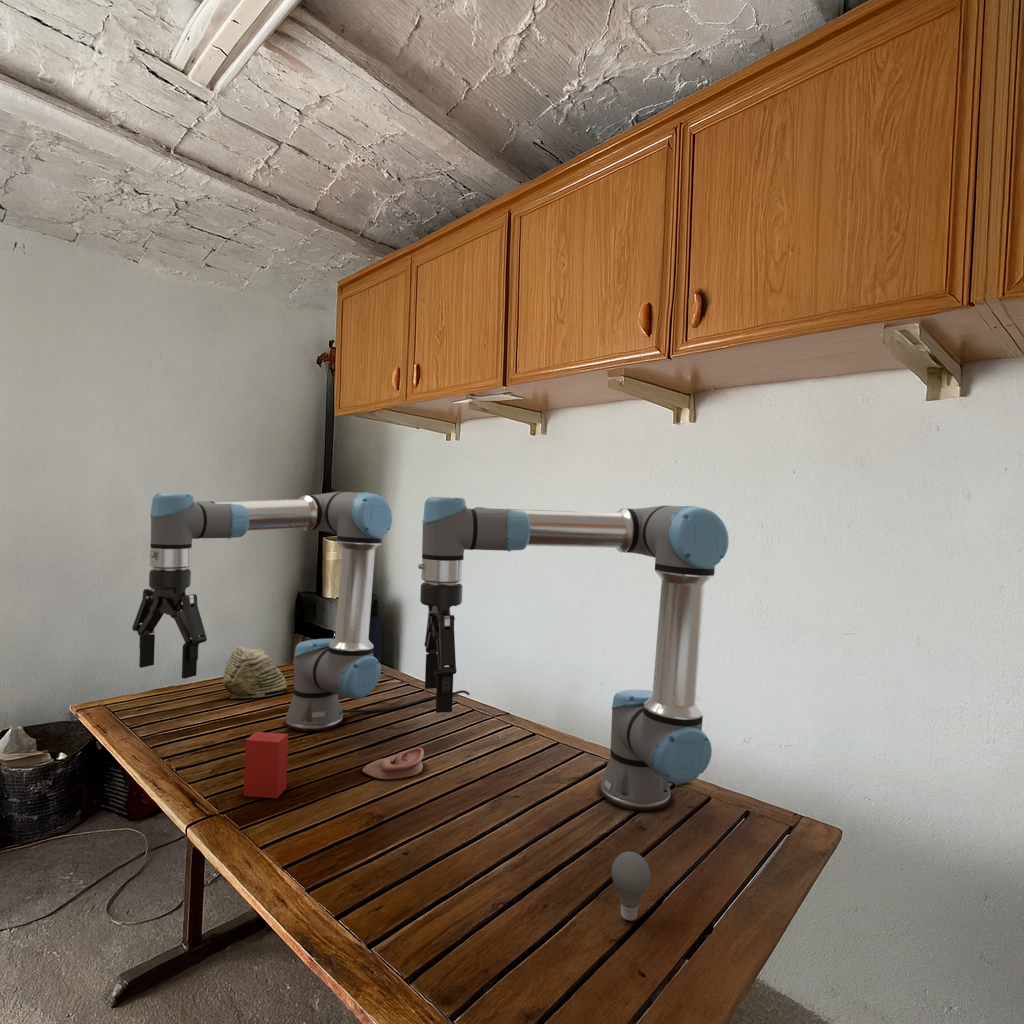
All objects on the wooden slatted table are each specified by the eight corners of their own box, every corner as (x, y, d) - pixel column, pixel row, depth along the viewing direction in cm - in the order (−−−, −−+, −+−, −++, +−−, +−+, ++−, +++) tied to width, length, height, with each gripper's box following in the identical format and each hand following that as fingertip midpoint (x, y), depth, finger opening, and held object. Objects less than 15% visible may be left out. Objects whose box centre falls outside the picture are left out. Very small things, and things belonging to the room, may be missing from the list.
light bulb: (605, 905, 101) (608, 843, 101) (642, 905, 102) (645, 843, 102) (614, 931, 95) (617, 865, 95) (653, 930, 96) (656, 865, 96)
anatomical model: (356, 758, 144) (377, 740, 155) (356, 775, 144) (376, 756, 155) (412, 766, 141) (429, 746, 152) (411, 783, 141) (428, 763, 153)
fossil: (218, 695, 195) (220, 647, 195) (278, 685, 208) (279, 640, 207) (228, 703, 189) (230, 653, 188) (289, 692, 201) (290, 645, 201)
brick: (243, 796, 133) (245, 739, 132) (253, 786, 137) (255, 731, 137) (277, 798, 132) (279, 742, 132) (286, 788, 137) (288, 733, 137)
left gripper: (115, 564, 132) (112, 665, 132) (194, 575, 121) (190, 686, 121) (149, 562, 139) (147, 658, 139) (227, 572, 127) (224, 677, 128)
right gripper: (412, 573, 125) (409, 680, 126) (431, 592, 101) (426, 724, 102) (450, 573, 127) (446, 678, 128) (477, 592, 103) (472, 721, 104)
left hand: (167, 671), depth 130 cm, fingers open, 13 cm apart
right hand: (437, 699), depth 115 cm, fingers open, 13 cm apart
